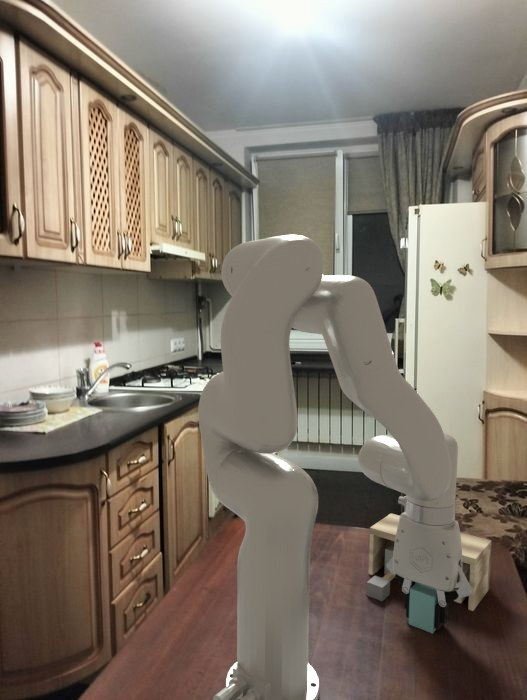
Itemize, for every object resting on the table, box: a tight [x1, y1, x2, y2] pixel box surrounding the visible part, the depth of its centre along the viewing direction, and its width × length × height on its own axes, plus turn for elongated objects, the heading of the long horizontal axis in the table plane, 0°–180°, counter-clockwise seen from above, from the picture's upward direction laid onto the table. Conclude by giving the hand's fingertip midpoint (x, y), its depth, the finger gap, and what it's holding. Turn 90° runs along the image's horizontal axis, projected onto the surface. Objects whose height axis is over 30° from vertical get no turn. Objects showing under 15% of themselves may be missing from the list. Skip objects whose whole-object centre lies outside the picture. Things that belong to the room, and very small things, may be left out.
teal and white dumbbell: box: [408, 563, 470, 634], centre depth 93 cm, size 16×5×6 cm, turn 141°
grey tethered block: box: [366, 542, 396, 602], centre depth 101 cm, size 14×5×5 cm, turn 141°
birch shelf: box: [368, 512, 492, 612], centre depth 101 cm, size 9×20×9 cm, turn 51°
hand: (425, 618), depth 89 cm, fingers closed on teal and white dumbbell, 4 cm apart
